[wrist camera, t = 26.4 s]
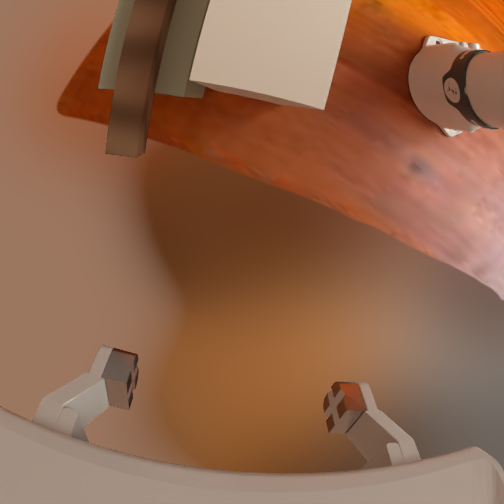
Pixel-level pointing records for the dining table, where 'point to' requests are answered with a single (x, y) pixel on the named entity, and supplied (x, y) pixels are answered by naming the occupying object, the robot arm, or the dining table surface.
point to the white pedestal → (271, 49)
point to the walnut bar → (138, 76)
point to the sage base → (175, 51)
